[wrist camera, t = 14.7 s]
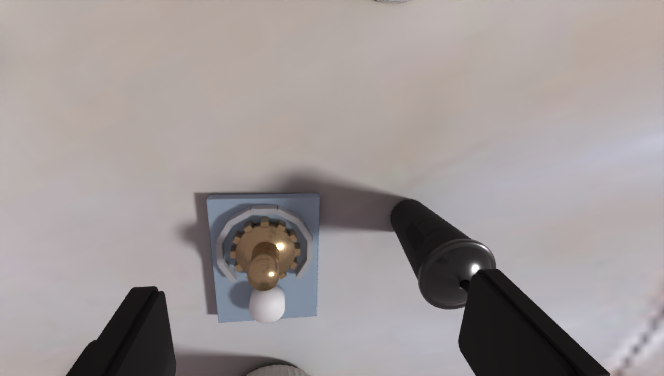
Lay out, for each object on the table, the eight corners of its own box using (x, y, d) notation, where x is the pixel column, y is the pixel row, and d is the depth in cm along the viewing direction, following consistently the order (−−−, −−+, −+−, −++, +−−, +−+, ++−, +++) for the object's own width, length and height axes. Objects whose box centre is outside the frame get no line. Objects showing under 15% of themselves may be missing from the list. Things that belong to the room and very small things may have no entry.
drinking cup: (383, 247, 45) (453, 373, 27) (376, 196, 43) (449, 297, 24) (437, 235, 46) (542, 350, 27) (433, 183, 43) (548, 273, 24)
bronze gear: (229, 217, 39) (220, 245, 33) (299, 216, 40) (302, 242, 34) (234, 277, 42) (226, 312, 36) (299, 273, 43) (302, 307, 37)
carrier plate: (209, 194, 39) (201, 208, 36) (318, 193, 41) (322, 205, 38) (220, 314, 45) (214, 337, 42) (315, 308, 47) (318, 329, 43)
